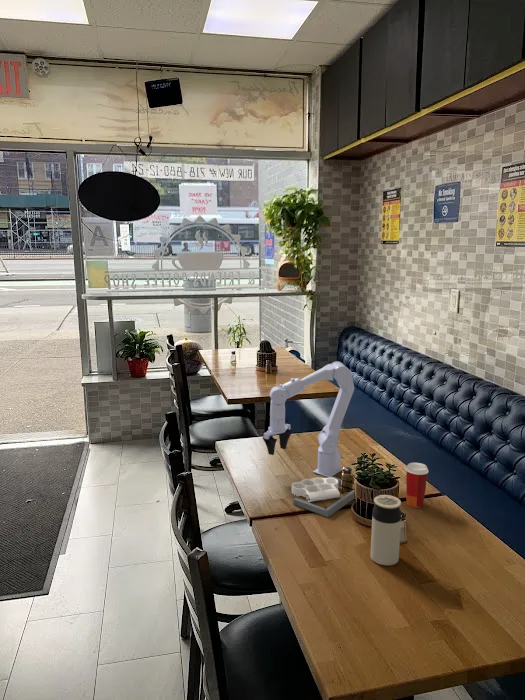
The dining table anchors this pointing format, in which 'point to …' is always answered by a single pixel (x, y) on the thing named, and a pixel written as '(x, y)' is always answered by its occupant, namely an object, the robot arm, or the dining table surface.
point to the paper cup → (416, 484)
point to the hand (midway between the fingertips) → (277, 451)
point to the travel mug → (386, 530)
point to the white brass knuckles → (316, 488)
